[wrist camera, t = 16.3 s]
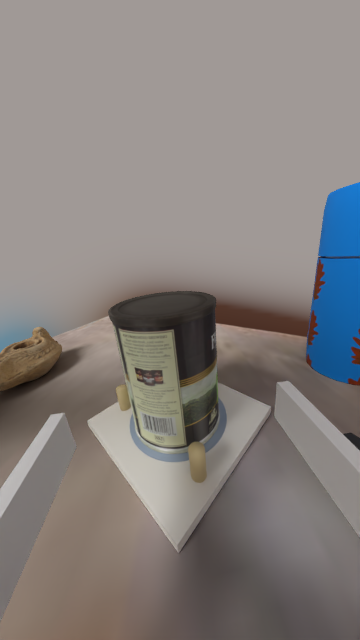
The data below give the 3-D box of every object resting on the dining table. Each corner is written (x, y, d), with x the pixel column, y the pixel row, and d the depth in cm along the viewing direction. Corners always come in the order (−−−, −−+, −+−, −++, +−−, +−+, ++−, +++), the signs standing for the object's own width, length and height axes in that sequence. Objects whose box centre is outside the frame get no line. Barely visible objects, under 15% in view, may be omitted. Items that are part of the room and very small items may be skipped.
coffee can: (206, 381, 29) (200, 287, 25) (234, 443, 19) (234, 307, 15) (136, 393, 28) (117, 297, 23) (129, 465, 18) (94, 326, 14)
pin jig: (88, 426, 24) (80, 401, 23) (178, 368, 35) (176, 348, 34) (178, 553, 13) (172, 517, 12) (270, 413, 24) (272, 386, 23)
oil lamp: (-38, 412, 29) (-64, 366, 27) (22, 361, 43) (8, 328, 41) (41, 398, 31) (23, 353, 28) (74, 353, 45) (64, 321, 42)
